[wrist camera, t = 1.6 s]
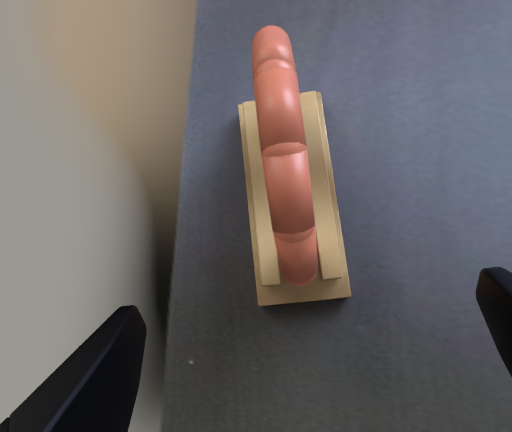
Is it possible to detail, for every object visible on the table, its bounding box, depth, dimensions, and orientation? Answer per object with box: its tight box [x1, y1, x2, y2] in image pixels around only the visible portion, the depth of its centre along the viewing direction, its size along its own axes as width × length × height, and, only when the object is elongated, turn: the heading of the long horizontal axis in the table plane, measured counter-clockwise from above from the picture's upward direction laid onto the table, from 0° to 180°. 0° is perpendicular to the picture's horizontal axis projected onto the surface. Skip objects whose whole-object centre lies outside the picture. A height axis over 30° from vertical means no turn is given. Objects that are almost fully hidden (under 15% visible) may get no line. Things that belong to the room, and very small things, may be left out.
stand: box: [238, 91, 351, 306], centre depth 20 cm, size 12×5×3 cm, turn 6°
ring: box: [252, 25, 318, 286], centre depth 16 cm, size 10×1×10 cm, turn 6°
